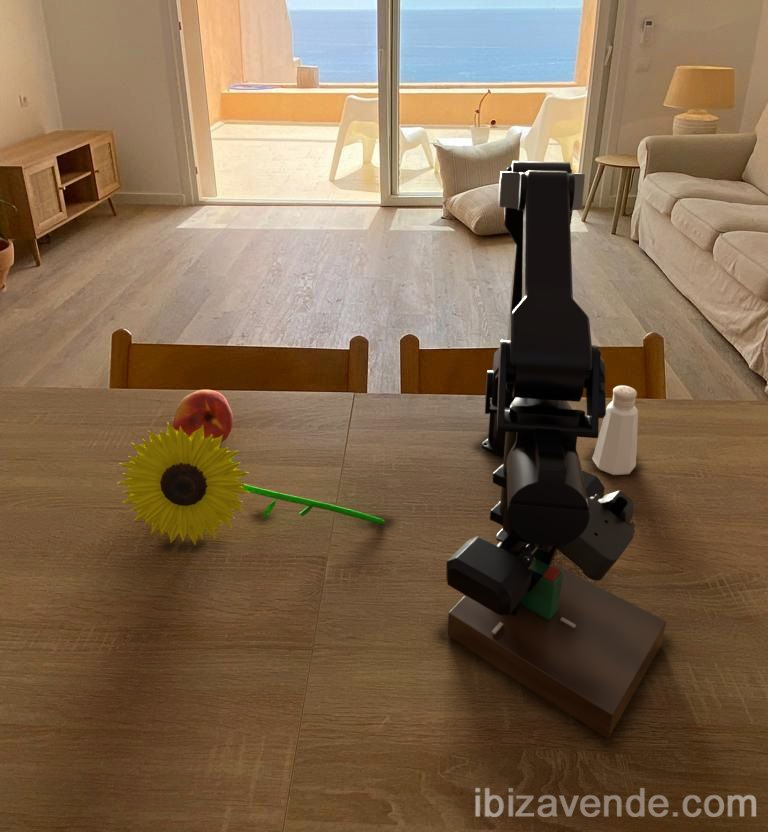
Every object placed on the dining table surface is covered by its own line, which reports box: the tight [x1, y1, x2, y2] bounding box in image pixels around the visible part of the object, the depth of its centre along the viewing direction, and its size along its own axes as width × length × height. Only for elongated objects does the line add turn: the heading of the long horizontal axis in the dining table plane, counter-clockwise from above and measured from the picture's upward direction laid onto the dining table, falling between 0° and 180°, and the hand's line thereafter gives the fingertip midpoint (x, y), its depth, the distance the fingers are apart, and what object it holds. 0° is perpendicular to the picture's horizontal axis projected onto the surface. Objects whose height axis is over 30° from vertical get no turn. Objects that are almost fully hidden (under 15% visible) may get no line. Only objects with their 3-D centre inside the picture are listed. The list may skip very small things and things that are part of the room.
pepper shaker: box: [591, 385, 639, 476], centre depth 88 cm, size 5×5×11 cm
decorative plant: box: [117, 421, 385, 546], centre depth 78 cm, size 15×6×30 cm
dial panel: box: [447, 562, 667, 740], centre depth 65 cm, size 12×17×3 cm
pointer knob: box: [497, 542, 563, 620], centre depth 65 cm, size 6×2×5 cm, turn 50°
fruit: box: [172, 389, 234, 444], centre depth 94 cm, size 8×8×8 cm
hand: (523, 597), depth 66 cm, fingers open, 4 cm apart
